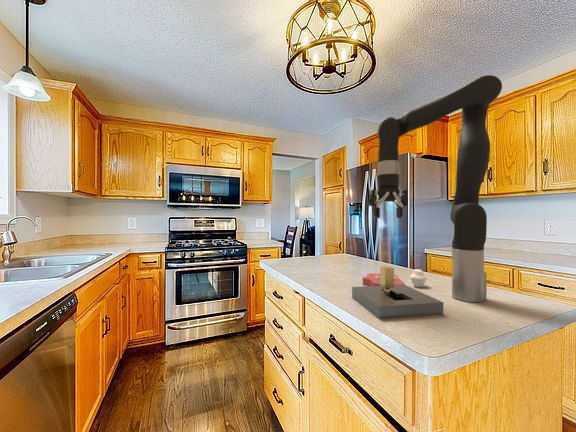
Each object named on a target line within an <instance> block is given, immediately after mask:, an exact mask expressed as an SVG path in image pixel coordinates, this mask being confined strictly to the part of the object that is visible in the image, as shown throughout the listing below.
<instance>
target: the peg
mask: <svg viewBox="0 0 576 432" xmlns="http://www.w3.org/2000/svg"><path fill="white" fill-rule="evenodd" d="M379 267H380V271H379V274H380V286H381V287H383V288H384V292H386V293H388V294H389V297H390V298H391V299H393V300H396V296H392V295H390V288H394V275H395V268H394V267H393V266H389V265H387V266H384V265H383V266H379Z"/></svg>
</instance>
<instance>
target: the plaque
mask: <svg viewBox="0 0 576 432" xmlns="http://www.w3.org/2000/svg"><path fill="white" fill-rule="evenodd" d="M403 284H404V285H406V283H404V281H403V280H402V279H400V277H398V275H396V274H394V285H403ZM362 285H363V286H380V273H377V272H376V273H372V272H371V273H367V275H366V276H363V277H362Z"/></svg>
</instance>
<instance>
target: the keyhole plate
mask: <svg viewBox="0 0 576 432" xmlns="http://www.w3.org/2000/svg"><path fill="white" fill-rule="evenodd" d="M390 295H392V296H394V297H395V298H403V299H400V300H398V299H395V300H393V299H391V298H390V297H389V294H388V293H386V292H384V288H383V287H381V286H366V285H363V286H351V297H352V298H353V299H354V300H355V301H357V302H358V304H361V306H363V308H365V309H366V310H368V311H369V312H370V313H371V314H372V315H374V316H376V318H378V319H379V320H384V319H397V318H398V319H401V318H413V317H429V316H442V315H444V301H441V300H439V299H437V298H436V297H435V298H434V297H432V296H430V295H428V294H427V293H426V294H425V293H424V292H421V291H419V290H417V289H415V288H413V287H410V286H409V285H407V284H405V285H404V284H403V285H394V288H390Z"/></svg>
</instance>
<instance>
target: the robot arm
mask: <svg viewBox="0 0 576 432" xmlns="http://www.w3.org/2000/svg"><path fill="white" fill-rule="evenodd" d="M502 89H503V83H502V81H501V79H500V78H499V77H497V76H496V75H491V74H489V75H487V74H486V75H482V76H480V77H478V78H476V79H475V80H473V81H471V82H469V83H468V84H466V85H465V86H463V87H461V88H459V89H457V90H455V91H453V92H451V93H449V94H447V95H445V96H443V97H440V98H438V99H435V100H432V101H431V102H428V103H425V104H423V105H421V106H418V107H415V108H414V109H410V110H408V111H406V112H405V113H403V114H402V115H401V116H399V117H398V118H395V117H392V116H387V117H384V118H383V119H382V120H381V121H380V123H379V125H378V129H377V136H378V141H379V142H378V146H379V147H378V152H377V153H378V154H377V189H370V190H369V192H368V193H369V194H368V206H369V207H372V208H373V216H374V217H375V219H380V218H381V208H380V206H381V205H382V204H383V203H384V202H385V203H386V202H391V203H393V204H394V205H395V206H396V209H395V210H396V218H397V219H399V218H400V219H401V218H402V217H403V215H404V214H403V213H404V211H403V208H404V207H406V206H408V204H409V203H408V202H409V201H408V200H409V199H408V198H409V197H408V190H407V189H402V190H401V189H399V187H400V164H399V140H400V137H402V136H404V135H405V134H406V135H407V133H409V132H411V131H415V130H417V129H420V128H423V127H426V126H428V125H430V124H432V123H435V122H437V121H438V120H441V119H443V118H445V117H446V116H448V115H451V114H452V113H455V112H456V111H459V110H461V130H460V134H459V142H458V149H457V157H456V158H457V159H456V172H455V173H456V174H455V193H454V197H453V202H452V207H451V210H450V220H451V222H452V224H453V225H454V226H453V230H454V231H453V238H452V242H451V296H452V298H453V299H456V300H459V301H463V302H469V303H482V302H484V301H487V287H488V286H487V272H486V271H485V243H486V241H487V224H488V221H487V220H488V219H487V218H488V217H487V212H486V209H485V208H483V206H482V205H480V204H479V203H480V202H479V200H480V190H481V187H482V184H483V181H484V178H485V176H486V174H487V171H488V168H489V162H490V157H491V156H490V154H491V141H490V137H489V134H488V131H487V125H486V122H487V114H488V110H489V106H490V104H491V103H493V102H494V101H495V100H496V99H497V98H498V97H499V95H500V94H501V92H502ZM376 196H378V198H377V199H376ZM399 196H400V198H399Z"/></svg>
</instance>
